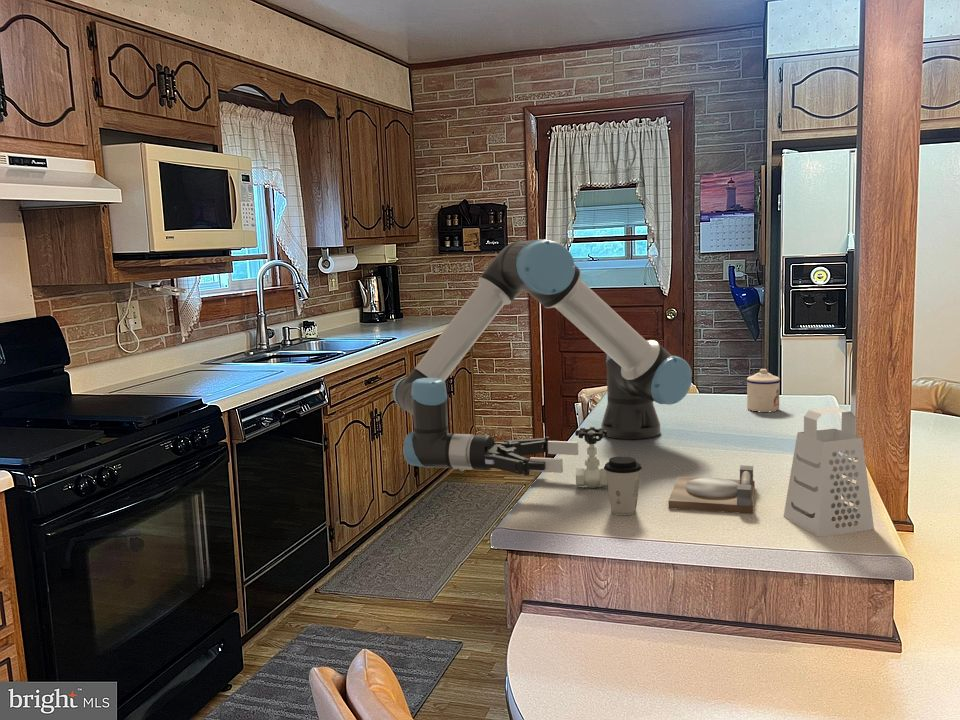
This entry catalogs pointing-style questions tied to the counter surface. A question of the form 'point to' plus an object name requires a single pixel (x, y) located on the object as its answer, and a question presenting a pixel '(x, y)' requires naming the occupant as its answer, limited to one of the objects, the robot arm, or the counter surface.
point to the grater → (828, 477)
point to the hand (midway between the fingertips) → (570, 456)
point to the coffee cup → (623, 484)
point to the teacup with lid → (763, 392)
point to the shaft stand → (715, 493)
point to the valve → (591, 460)
